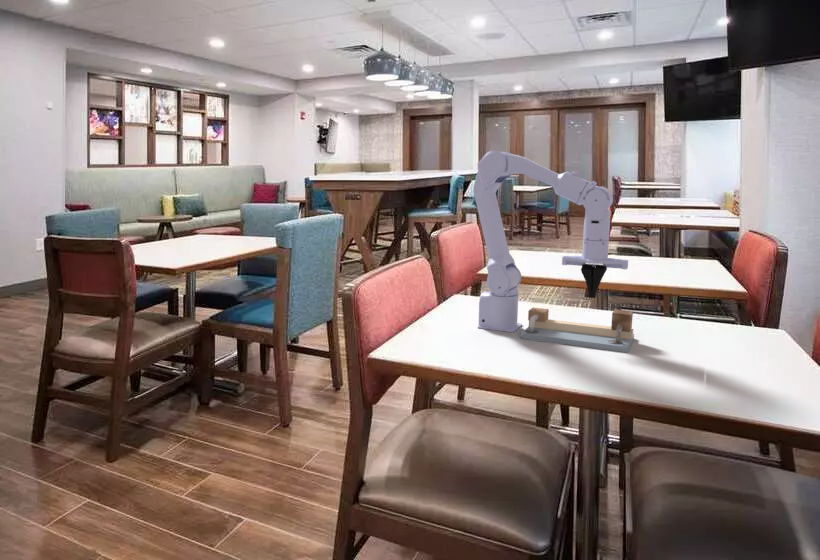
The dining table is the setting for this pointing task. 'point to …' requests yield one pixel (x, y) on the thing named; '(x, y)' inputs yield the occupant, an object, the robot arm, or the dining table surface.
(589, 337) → the gauge board
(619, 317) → the slider
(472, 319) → the dining table surface
